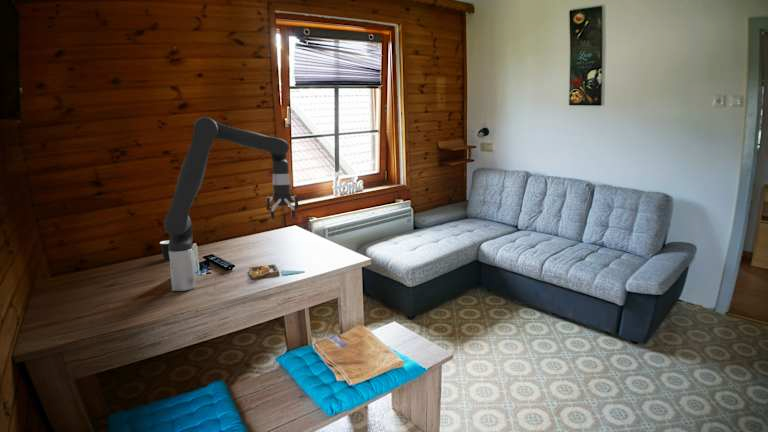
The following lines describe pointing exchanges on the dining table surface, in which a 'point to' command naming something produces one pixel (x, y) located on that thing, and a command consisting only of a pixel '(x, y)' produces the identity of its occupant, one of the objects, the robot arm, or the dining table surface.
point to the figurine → (258, 272)
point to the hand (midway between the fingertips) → (283, 218)
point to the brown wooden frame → (268, 274)
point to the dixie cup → (165, 250)
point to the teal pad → (290, 272)
